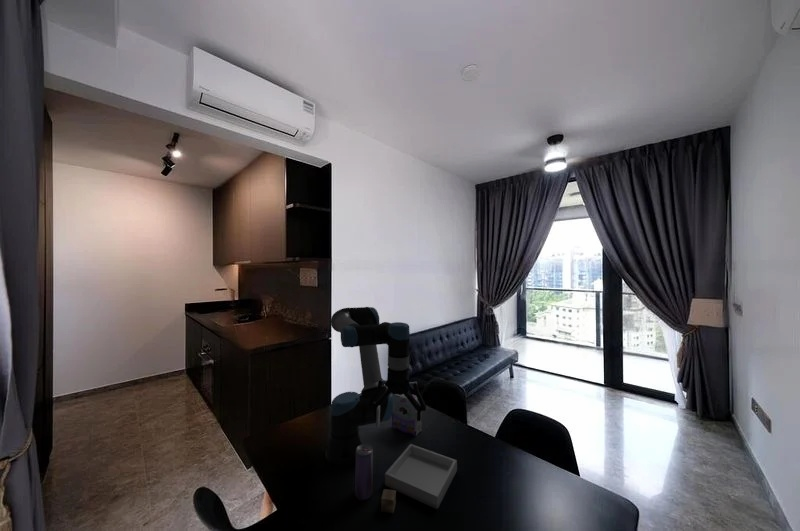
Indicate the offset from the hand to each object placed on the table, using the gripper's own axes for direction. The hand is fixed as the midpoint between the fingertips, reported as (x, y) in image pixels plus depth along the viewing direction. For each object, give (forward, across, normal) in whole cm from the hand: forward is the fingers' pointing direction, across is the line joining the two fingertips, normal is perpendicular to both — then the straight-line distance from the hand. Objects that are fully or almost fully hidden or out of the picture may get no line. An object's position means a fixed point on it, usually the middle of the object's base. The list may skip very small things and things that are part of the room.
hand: (396, 427), depth 96 cm
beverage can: (+21, -10, -5) cm, 24 cm away
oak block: (+21, -1, -9) cm, 22 cm away
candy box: (+22, 0, +36) cm, 42 cm away
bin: (+21, +9, +6) cm, 23 cm away
